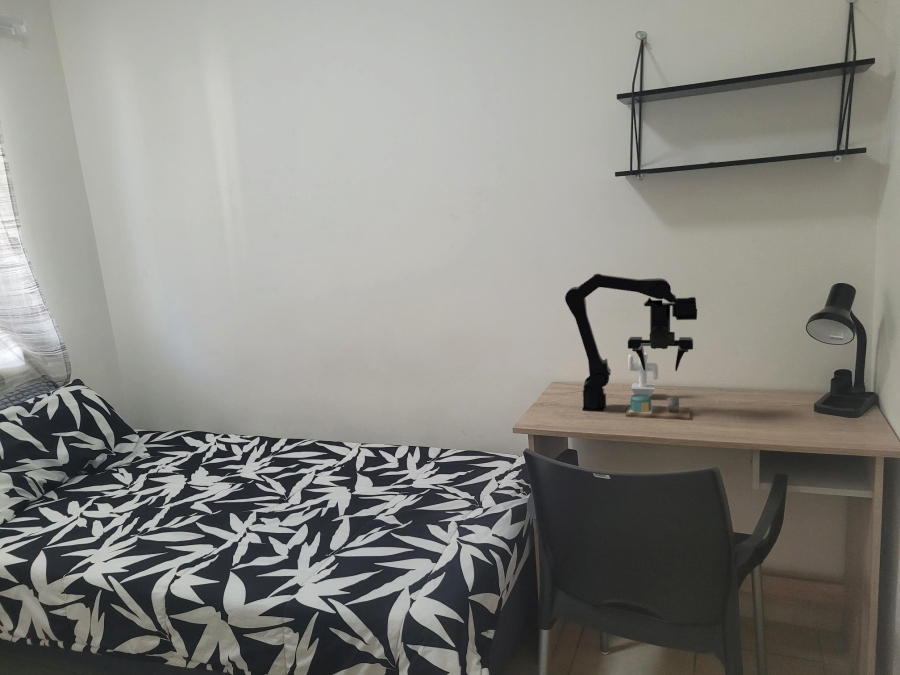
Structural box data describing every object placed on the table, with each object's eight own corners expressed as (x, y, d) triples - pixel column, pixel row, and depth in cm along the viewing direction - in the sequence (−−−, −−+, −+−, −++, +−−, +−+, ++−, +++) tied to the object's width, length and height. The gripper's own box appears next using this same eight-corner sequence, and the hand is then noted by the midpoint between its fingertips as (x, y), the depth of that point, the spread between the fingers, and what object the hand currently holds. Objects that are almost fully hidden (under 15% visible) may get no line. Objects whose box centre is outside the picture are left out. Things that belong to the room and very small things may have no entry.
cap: (628, 407, 193) (628, 395, 192) (645, 406, 193) (645, 393, 193) (636, 412, 187) (636, 400, 186) (653, 410, 188) (653, 398, 187)
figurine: (658, 400, 202) (657, 355, 200) (628, 399, 205) (627, 355, 203) (658, 394, 209) (658, 350, 206) (629, 393, 212) (628, 350, 209)
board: (625, 416, 187) (625, 400, 186) (628, 407, 197) (628, 392, 196) (689, 419, 181) (689, 403, 180) (689, 410, 190) (689, 394, 189)
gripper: (625, 324, 183) (626, 375, 186) (693, 324, 177) (692, 377, 179) (629, 318, 193) (629, 367, 196) (693, 318, 187) (692, 369, 189)
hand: (660, 370), depth 190 cm, fingers open, 9 cm apart
